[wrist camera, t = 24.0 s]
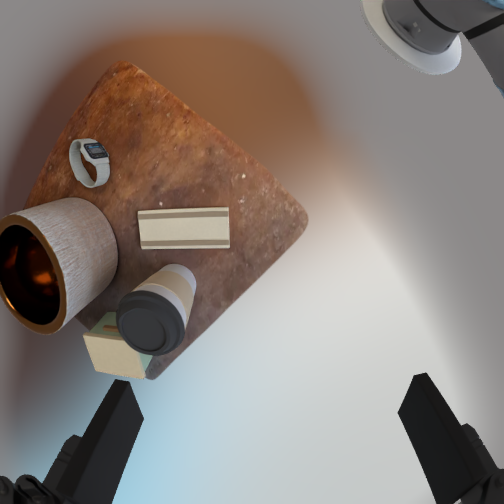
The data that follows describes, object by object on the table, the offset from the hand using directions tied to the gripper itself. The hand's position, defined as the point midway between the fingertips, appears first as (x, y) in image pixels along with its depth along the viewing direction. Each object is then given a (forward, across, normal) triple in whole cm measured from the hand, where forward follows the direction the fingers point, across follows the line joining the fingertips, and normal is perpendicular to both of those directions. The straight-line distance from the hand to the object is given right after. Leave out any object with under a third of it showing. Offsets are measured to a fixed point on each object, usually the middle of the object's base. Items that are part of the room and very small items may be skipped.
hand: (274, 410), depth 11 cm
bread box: (+32, -24, -17) cm, 43 cm away
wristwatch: (+32, -27, +13) cm, 44 cm away
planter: (+32, -32, -1) cm, 45 cm away
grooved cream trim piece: (+32, -12, +2) cm, 34 cm away
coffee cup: (+32, -14, -8) cm, 36 cm away
